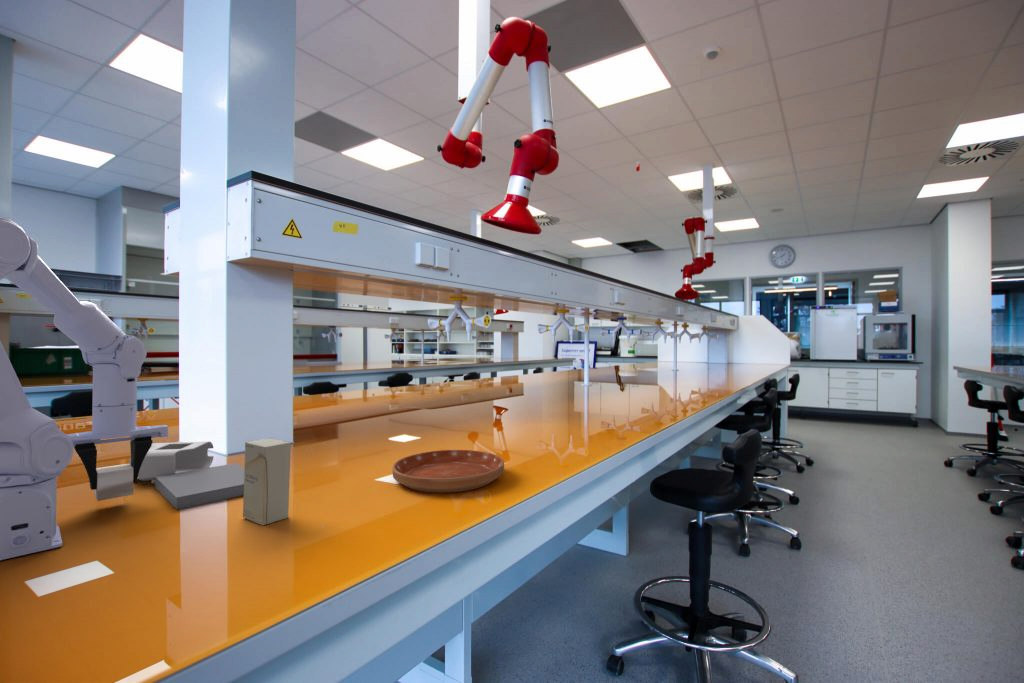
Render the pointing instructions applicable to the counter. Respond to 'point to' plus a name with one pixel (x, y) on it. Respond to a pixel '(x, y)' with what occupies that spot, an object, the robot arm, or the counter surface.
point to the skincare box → (266, 480)
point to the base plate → (201, 485)
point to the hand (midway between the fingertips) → (114, 484)
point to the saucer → (448, 470)
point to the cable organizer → (174, 459)
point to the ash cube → (114, 482)
